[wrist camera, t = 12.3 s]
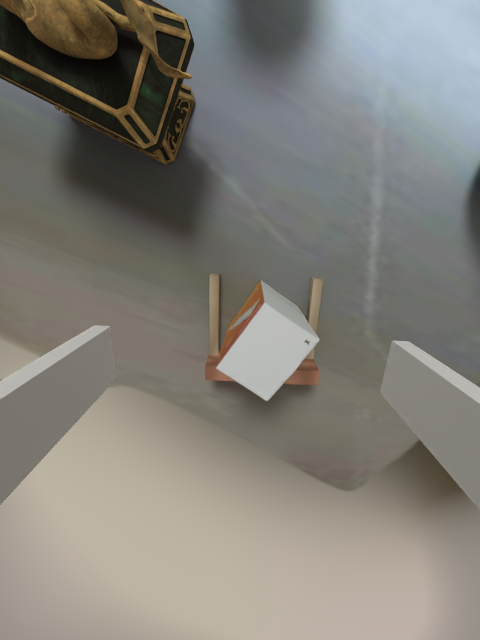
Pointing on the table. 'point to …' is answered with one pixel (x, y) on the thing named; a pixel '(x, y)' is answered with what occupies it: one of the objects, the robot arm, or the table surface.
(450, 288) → the table surface
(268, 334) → the small box
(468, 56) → the table surface
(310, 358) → the keeper seat
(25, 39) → the decorative box
